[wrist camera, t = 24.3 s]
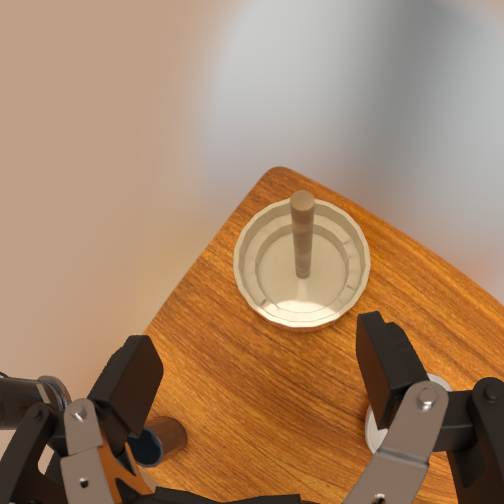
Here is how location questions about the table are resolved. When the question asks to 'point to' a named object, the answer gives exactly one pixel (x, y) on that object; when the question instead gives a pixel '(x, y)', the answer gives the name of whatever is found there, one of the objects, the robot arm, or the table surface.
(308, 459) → the table surface
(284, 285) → the bowl
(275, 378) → the table surface
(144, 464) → the utensil pot
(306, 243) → the stick
